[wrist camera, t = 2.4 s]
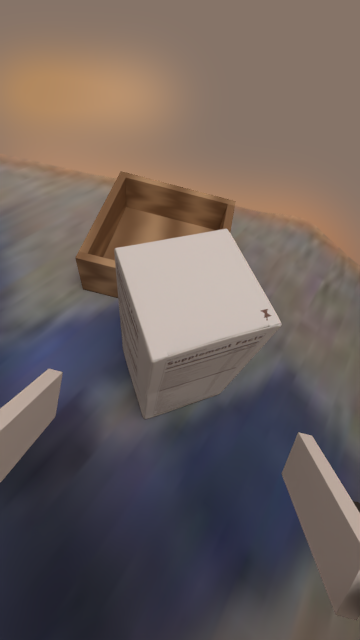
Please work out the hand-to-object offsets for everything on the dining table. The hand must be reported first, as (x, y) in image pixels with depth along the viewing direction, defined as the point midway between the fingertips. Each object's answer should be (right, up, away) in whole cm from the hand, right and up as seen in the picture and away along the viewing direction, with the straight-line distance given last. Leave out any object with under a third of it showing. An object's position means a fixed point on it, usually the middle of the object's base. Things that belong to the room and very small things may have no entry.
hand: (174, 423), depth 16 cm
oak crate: (-2, +15, +26) cm, 30 cm away
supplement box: (-1, 0, +19) cm, 19 cm away
